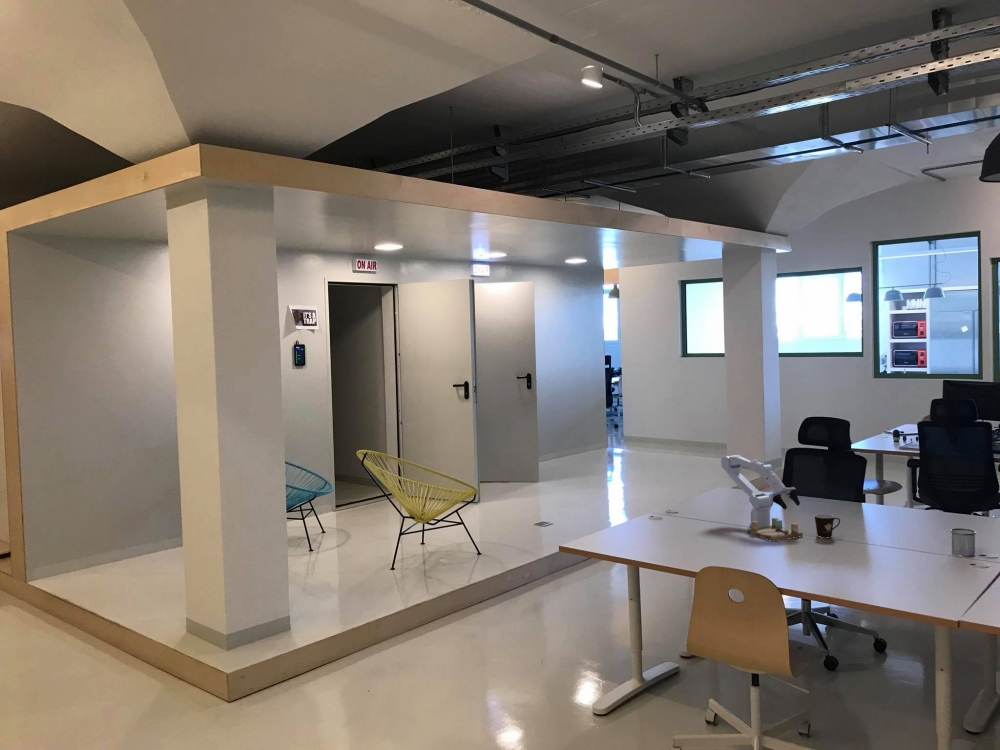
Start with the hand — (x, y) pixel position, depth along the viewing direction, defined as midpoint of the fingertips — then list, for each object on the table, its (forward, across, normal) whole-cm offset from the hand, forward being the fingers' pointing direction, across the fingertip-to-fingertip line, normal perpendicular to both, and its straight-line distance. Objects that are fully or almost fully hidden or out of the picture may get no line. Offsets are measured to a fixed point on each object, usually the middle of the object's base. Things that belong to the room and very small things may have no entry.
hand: (792, 506), depth 373 cm
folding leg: (+6, -7, +9) cm, 13 cm away
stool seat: (+6, -10, +12) cm, 16 cm away
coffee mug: (+18, +10, +5) cm, 21 cm away
